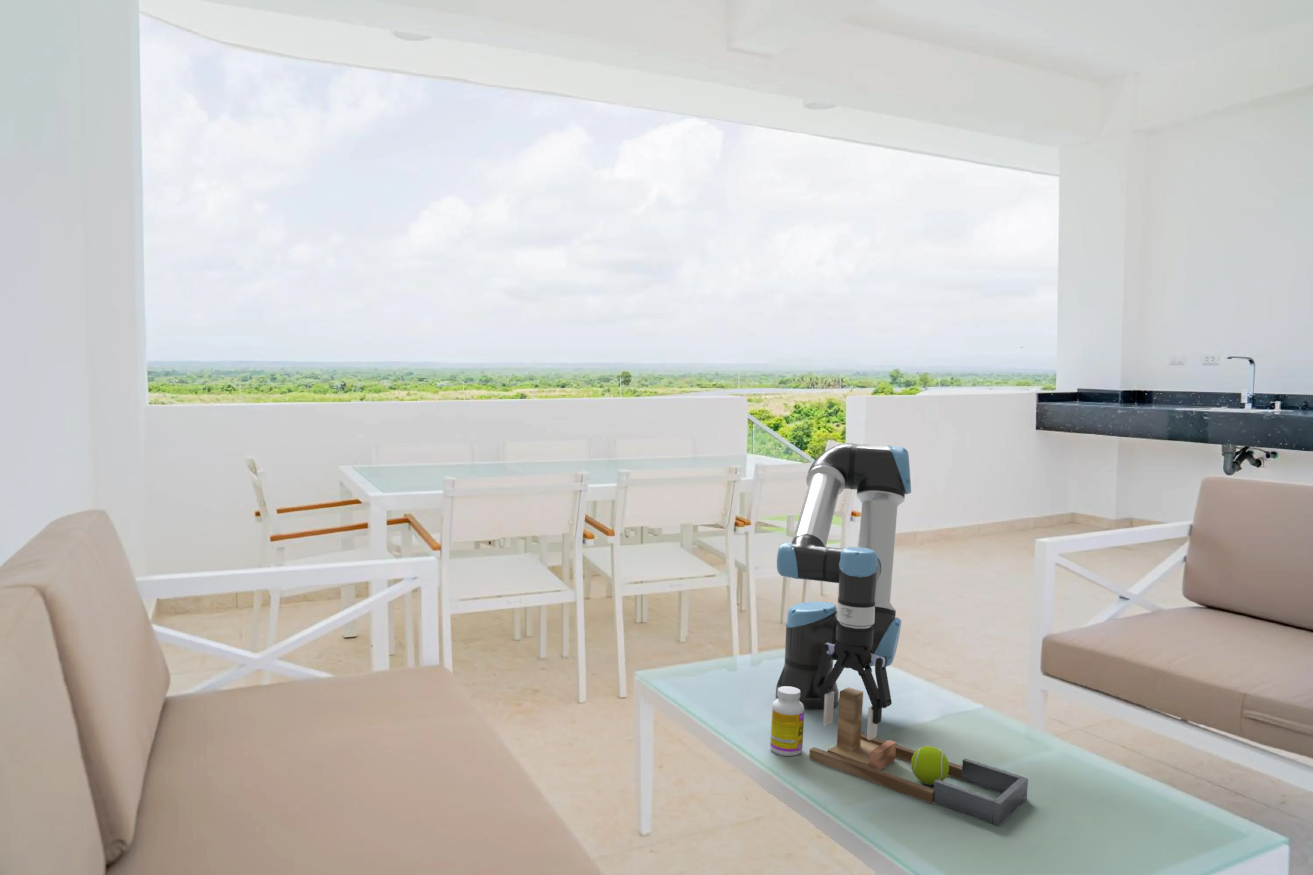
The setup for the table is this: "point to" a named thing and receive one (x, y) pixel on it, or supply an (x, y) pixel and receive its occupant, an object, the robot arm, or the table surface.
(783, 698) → the supplement bottle
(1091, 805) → the table surface
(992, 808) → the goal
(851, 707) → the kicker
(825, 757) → the track rails
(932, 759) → the tennis ball
